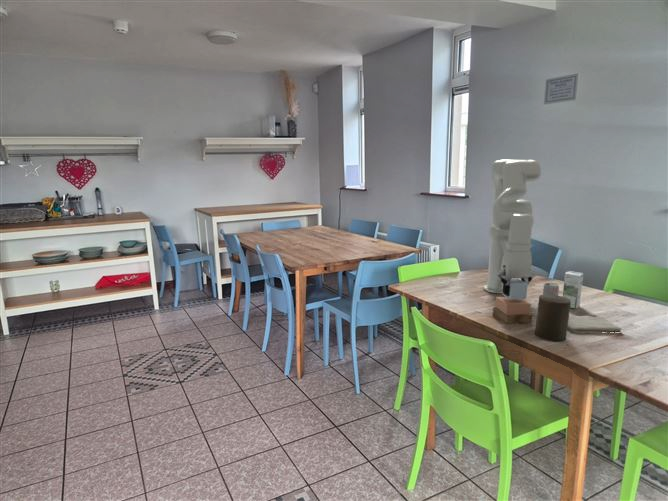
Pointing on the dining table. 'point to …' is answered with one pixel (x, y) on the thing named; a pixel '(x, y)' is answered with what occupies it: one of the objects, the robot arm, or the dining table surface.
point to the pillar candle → (552, 317)
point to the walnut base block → (512, 317)
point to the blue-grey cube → (517, 289)
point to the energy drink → (551, 289)
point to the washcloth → (591, 325)
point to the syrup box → (573, 287)
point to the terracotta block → (512, 306)
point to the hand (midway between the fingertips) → (514, 294)
